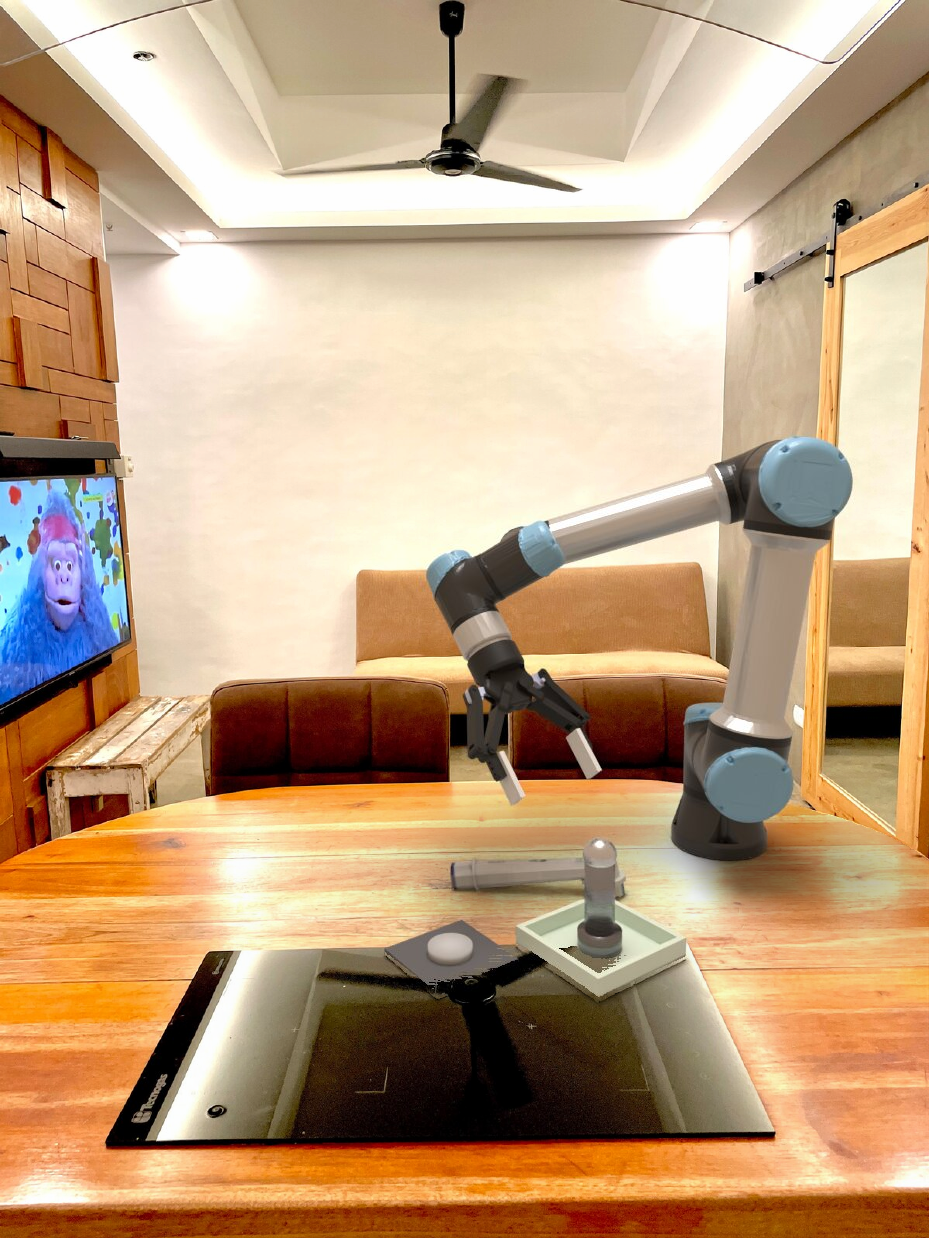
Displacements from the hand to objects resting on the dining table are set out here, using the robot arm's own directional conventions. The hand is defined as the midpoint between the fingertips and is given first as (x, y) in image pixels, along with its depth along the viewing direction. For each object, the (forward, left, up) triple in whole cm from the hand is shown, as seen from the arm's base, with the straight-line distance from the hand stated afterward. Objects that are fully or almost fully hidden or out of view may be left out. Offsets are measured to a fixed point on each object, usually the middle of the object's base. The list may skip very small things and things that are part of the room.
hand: (557, 787), depth 115 cm
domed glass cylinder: (+1, +9, -18) cm, 20 cm away
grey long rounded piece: (-4, -9, -20) cm, 22 cm away
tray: (+1, +9, -19) cm, 21 cm away
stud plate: (+17, -1, -19) cm, 26 cm away
